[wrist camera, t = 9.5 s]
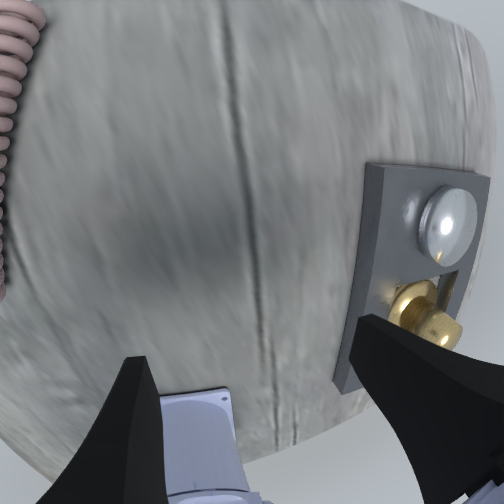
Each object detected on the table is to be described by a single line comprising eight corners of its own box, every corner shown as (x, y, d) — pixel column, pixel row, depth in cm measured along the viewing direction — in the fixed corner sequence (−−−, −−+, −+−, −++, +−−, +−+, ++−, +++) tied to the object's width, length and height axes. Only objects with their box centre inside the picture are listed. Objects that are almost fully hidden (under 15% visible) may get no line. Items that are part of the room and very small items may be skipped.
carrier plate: (431, 342, 29) (449, 359, 26) (332, 381, 26) (348, 406, 23) (474, 172, 21) (502, 181, 18) (365, 162, 18) (400, 171, 15)
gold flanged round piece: (420, 324, 27) (457, 358, 21) (373, 342, 25) (410, 384, 20) (435, 269, 24) (481, 301, 18) (386, 282, 23) (435, 323, 17)
